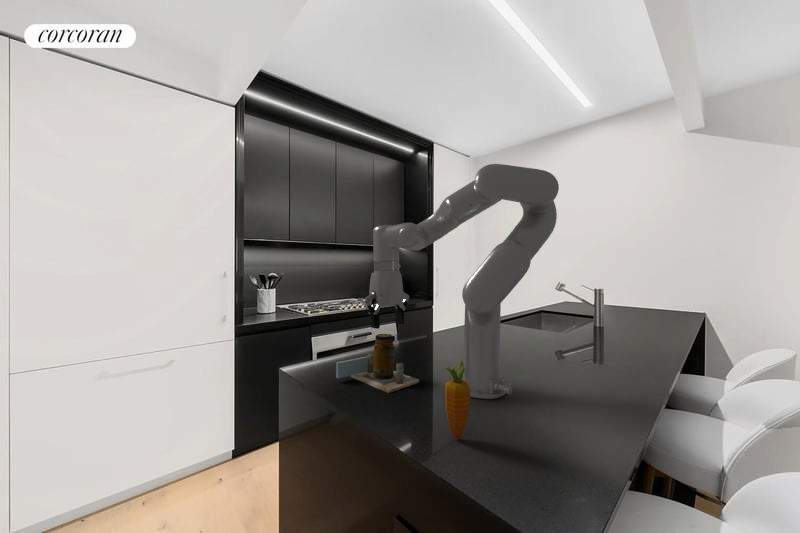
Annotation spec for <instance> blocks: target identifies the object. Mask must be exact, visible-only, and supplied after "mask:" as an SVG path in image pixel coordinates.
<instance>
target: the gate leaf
mask: <svg viewBox="0 0 800 533" xmlns="http://www.w3.org/2000/svg"><path fill="white" fill-rule="evenodd" d="M335 364H336V366H335V378H336V379H343V378H347V377H351V375H355V374H360V373H364V372H368V357H367V356H362V357H357V358H352V359H345V360H343V361H337V362H335Z"/></svg>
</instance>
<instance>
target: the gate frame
mask: <svg viewBox="0 0 800 533" xmlns="http://www.w3.org/2000/svg"><path fill="white" fill-rule="evenodd" d="M366 357H368V372H364V373H360V374H355V375H351V376H350V378H353V379H354V380H357V381H359V382H362V383H363V384H366V385H369V386H371V387H373V388H376V389H378V390H380V391H383V392H386V393H387V394H389V393H393V392H396V391H399V390H401V389H404V388H407V387H410V386H412V385H416V384H418V383H420V379H418V378H416V377H413V376H410V375H406V374H404V363H399V362H397V363H396V364H395V365H396V366H395V367H396V369H395V370H394V374H396V380H392V381H387V382H383V381H380V380H378V379H376V378H373V377H371V376H369V375H367V374H370V373H374V372H373V370H374V353H369V354H367V356H366ZM393 378H394V377H393Z"/></svg>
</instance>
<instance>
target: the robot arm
mask: <svg viewBox="0 0 800 533" xmlns="http://www.w3.org/2000/svg"><path fill="white" fill-rule="evenodd" d="M559 189H560V188H559V181H558V179H557V177H556V175H553V173H552V172H549V171H547V170H544V169H539V168H533V167H525V166H517V165H510V164H502V163H490V164H486V165H483V166H482V167H481V168H480V169H479V170H477V173H476V174H475V177H474V180H472V181H471V182H469V183H467V184H466V185H464V186H462V187H461V188H460V189H458V190H456V191H455V192H453V193H451V194H449V195H448V196H446V197H445V198H444V200H442V202H441V203H440V205H439V207H438V208H437V209H436V210H435V212H433V214H431V215H430V216H429V217H427V218H426V219H423V221H421V222H419V223H417V224H415V223H413V222H403V223H399V224H394V225H391V224H384V225H376V226H375V227H374V228H373V231H372V241H373V243H372V245H373V246H372V247H373V250H372V251H373V272H371V275H370V280H369V289H368V290H369V292H368V295H367V296H366V297H364V298H363V299H362V303H363V305H364V308H365V310H366V311H367V312H368V314H369V315H370V328H372V329H377V330H378V329H380V327H381V324H380V323H381V321H380V320H381V319H380V314H379V312H380V310H381V309H382V308H388V307H395V309H396V310H395V311H394V314H395V315H394V316H395V320H394V321H395V324H399V325H404V324H405V310H406V307H407V305H408V303H409V299H410V295H409V294H407V293H406V292H405V291H404V287H403V286H404V285H403V277H402V273H401V272H400V268H401V263H400V249H403V250H408V251H409V250H411V251H421V250H423V249H424V248H427V247H428V246H430V245H432V244H434V243H435V242H436V241H438V240H440V239H442V238H444V236H447V235H448V234H449V233H450V232H452V231H453V230H455V229H457V228H458V227H459V226H461V225H462V224H464V223H465V222H467V221H468V220H470V219H472V218H474V217H475V216H478V215H479V214H480V213H483V212H484V211H486V210H488V209H489V208H491V207H493V206H494V205H496V204H497V203H499V202H501V201H502V200H504V201H509V202H516V203H519V204H520V206H521V207H522V212H523V213H522V217H521V219H520V220H519V221H518V223H517V224H516V225H515V226H514V228H513V229H512V230H511V232H510V233H509V234H508V235H507V237H506V238H505V239H504V240H503V241H502V242H501V243H499V244H497V245H496V246H495V247H494V248H493V249H492V250H491V251H490V252H489V254H488V256H486V258H485V259H484V261H482V263H481V264H480V265H479V266H478V267H477V269H476V270H475V271H474V272H473V274H472V275H471V276H470V277H469V279H468V280H467V281H466V282H465V283H464V285H463V288H462V291H461V292H462V295H461V296H462V301H463V304H464V324H463V325H464V329H463V330H464V332H463V334H464V335H463V367H465V370H464V373H463V376H462V380H463V381H466V382H467V383H468V385H469V386H470V398H474V399H481V400H493V399H499V398H501V397H503V396H504V395H505V394H507V395H512V393H513V384H512V383H508V382H505V381H504V376H503V375H501V374H500V364H501V362H500V360H501V358H500V357H501V353H500V352H501V310H502V308H501V304H502V302H503V301H504V300H505V299H506V298H507V297H508V296H509V295H510V293H511V292H512V291H513V290H514V289H515V287H516V286H518V284H519V282H520V281H521V280H522V279H523V278H524V276H525V275H526V274H527V273H528V271H529V269H530V267H531V261H532V259H533V258H534V257H535V256H536V254H537V253H538V252H539V251H540V250H541V248H542V247H543V246H544V245H545V243H546V242H547V241H548V239H549V238H550V237H551V235H552V234H553V232H554V230H555V227H556V224H557V218H558V217H557V216H558V214H557V208H556V204H555V199H556V198H557V196H558V194H559Z"/></svg>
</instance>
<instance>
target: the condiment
mask: <svg viewBox="0 0 800 533" xmlns="http://www.w3.org/2000/svg"><path fill="white" fill-rule="evenodd" d="M374 342H375V343H374V345H373V354H374V370H373V372H374V373H370V374H367V375H369V376H371V377H373V378H376V379H378V380H380V381H383V382H387V381H392V380H396V374H394V371H395V370H394V368H395V344H394V336H393V334H388V333H379V334H376V335H375V341H374ZM393 377H394V378H393Z"/></svg>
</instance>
